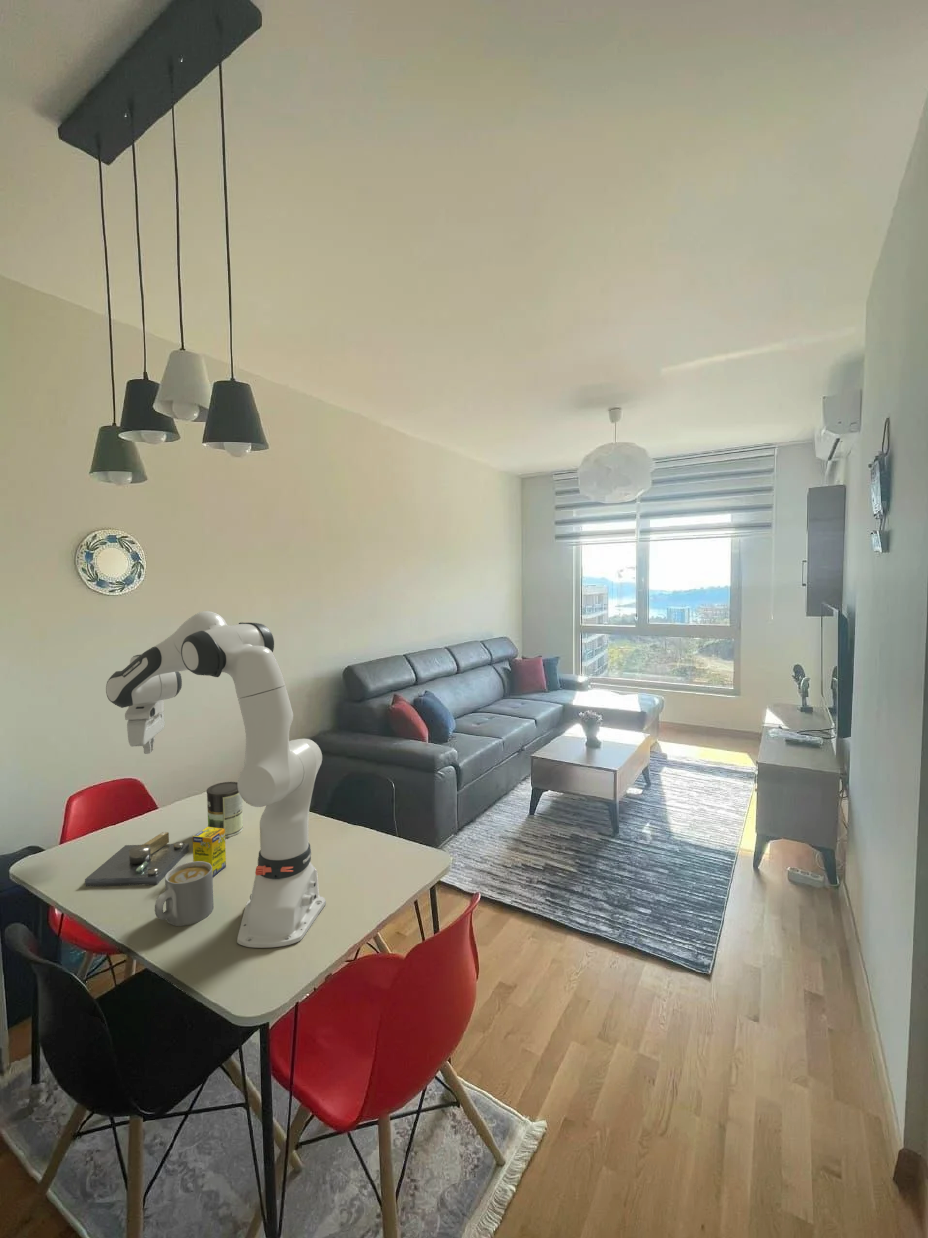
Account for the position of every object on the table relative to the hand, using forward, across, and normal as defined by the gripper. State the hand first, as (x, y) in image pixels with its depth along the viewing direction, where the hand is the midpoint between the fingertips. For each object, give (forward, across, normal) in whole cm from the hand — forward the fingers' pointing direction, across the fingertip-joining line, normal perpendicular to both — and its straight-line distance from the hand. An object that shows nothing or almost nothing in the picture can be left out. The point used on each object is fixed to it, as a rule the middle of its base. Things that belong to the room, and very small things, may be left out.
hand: (148, 752), depth 162 cm
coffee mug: (+27, +43, +20) cm, 55 cm away
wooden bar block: (+25, +13, +4) cm, 28 cm away
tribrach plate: (+27, +17, +2) cm, 32 cm away
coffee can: (+27, -1, +21) cm, 34 cm away
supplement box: (+27, +23, +21) cm, 42 cm away
